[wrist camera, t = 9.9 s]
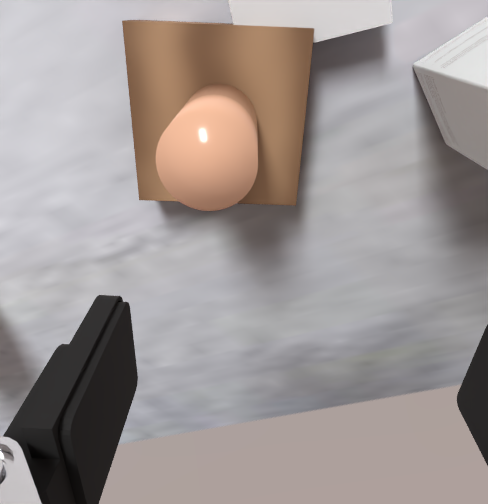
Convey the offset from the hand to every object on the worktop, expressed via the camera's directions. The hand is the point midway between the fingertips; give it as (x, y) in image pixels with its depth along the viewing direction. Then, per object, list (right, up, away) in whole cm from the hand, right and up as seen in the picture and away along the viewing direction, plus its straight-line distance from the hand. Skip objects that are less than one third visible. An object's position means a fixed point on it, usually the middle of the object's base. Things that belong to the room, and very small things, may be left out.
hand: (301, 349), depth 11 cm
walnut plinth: (-3, +14, +21) cm, 26 cm away
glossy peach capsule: (-3, +12, +18) cm, 22 cm away
